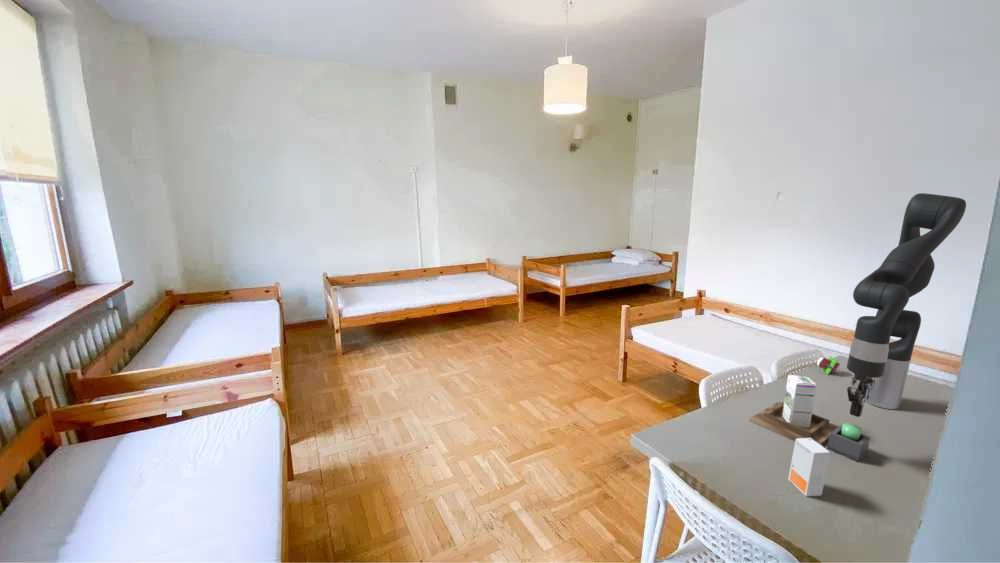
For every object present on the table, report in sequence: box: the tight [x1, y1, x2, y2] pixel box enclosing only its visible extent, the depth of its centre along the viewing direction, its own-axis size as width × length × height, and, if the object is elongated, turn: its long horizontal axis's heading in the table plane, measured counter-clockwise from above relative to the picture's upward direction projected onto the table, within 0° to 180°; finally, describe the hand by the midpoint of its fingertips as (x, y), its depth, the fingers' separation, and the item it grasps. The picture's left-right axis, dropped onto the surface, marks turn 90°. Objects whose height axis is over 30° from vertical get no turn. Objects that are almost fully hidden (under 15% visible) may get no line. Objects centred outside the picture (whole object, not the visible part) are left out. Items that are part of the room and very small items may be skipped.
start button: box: [841, 422, 862, 441], centre depth 117 cm, size 4×4×3 cm
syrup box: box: [782, 374, 818, 428], centre depth 129 cm, size 6×6×14 cm
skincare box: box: [787, 438, 831, 497], centre depth 102 cm, size 6×4×12 cm
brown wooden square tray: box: [749, 401, 840, 446], centre depth 131 cm, size 18×18×3 cm
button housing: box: [826, 425, 872, 463], centre depth 118 cm, size 7×7×5 cm
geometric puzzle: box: [816, 355, 841, 376], centre depth 167 cm, size 7×7×8 cm
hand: (855, 414), depth 116 cm, fingers closed
